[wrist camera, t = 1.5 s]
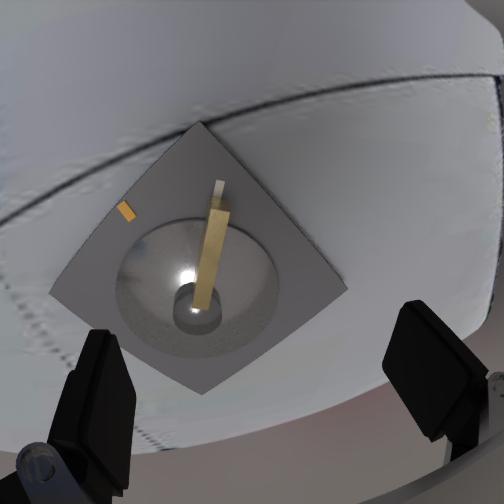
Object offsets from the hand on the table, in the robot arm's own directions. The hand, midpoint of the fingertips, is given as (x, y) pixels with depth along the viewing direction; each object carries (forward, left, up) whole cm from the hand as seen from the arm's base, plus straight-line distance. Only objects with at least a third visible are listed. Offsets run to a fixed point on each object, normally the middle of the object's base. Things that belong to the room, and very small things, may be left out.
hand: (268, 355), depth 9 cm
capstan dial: (+9, +7, -22) cm, 25 cm away
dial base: (+10, +7, -24) cm, 27 cm away
